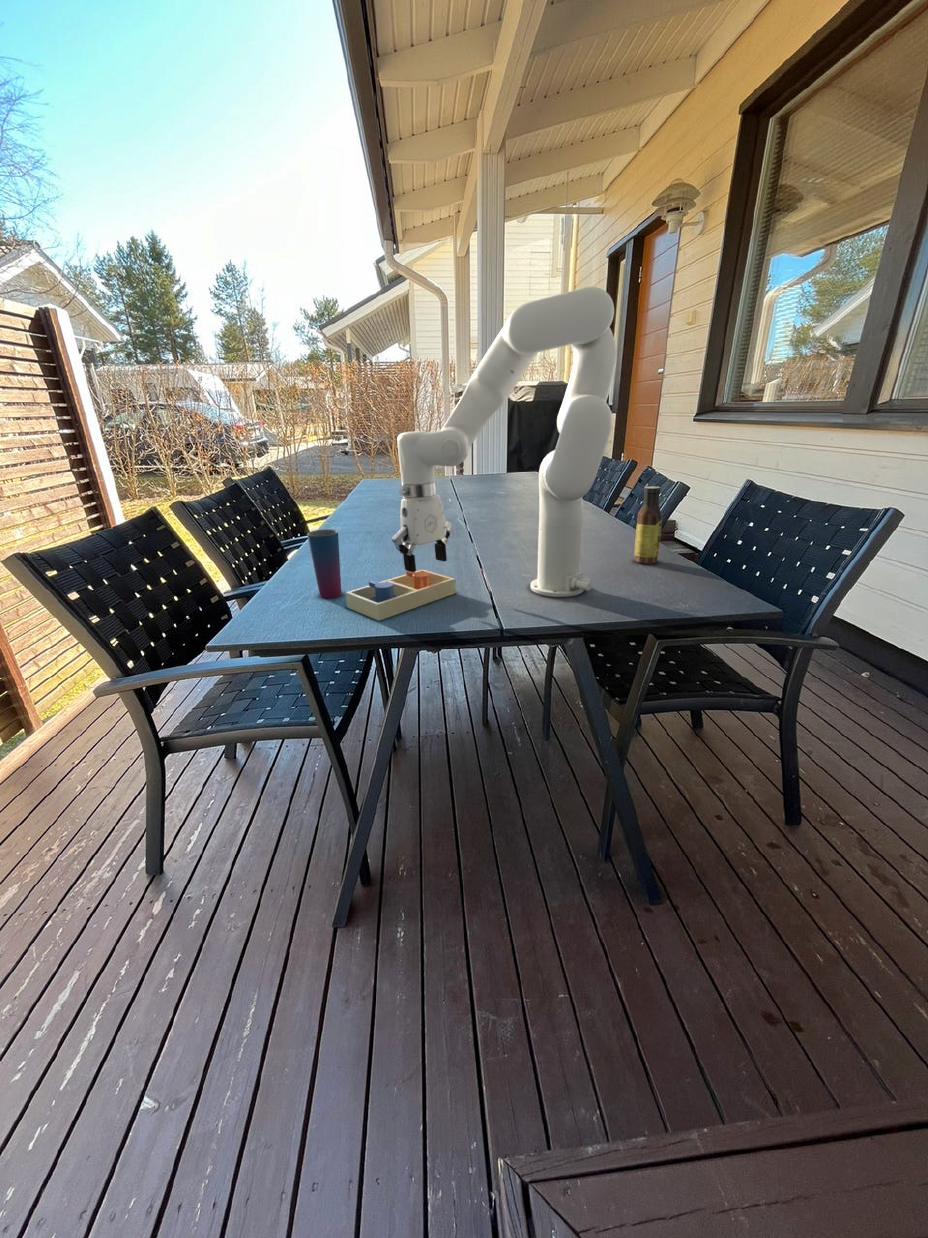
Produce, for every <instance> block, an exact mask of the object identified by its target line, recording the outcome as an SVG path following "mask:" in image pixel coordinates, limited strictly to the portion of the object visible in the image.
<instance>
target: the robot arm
mask: <svg viewBox="0 0 928 1238" xmlns="http://www.w3.org/2000/svg"><path fill="white" fill-rule="evenodd" d="M614 315H615V306H614V301H613V299H612V297H611V295H610V294H609V292H607V290H605V289H603V288H600V287H597V286H586V287H582V288H578V289H573V290H571V291H567V292H564V293H560V294H556V295H552V296H548V297H544V298H540V299H535V300H532V301H528V302H524V303H521V304H520V305H519V306H516V307H515V308H514V309H513V310H512V312H511V313H510V315H509V317H508V318H507V320H506V321H505V323H504V324H503V326H502V328H501V330H500V331H499V333H498V334H497V336H496V337H495V339H494V341H493V342H492V344H491V345H490V346H489V348H488V350H487V351H486V353H485V355H484V356H483V358H482V359H481V361H480V363H479V364H478V366H476V369H475V370H474V371H473V373H472V375H471V376H470V378H469V380H468V383H467V385H466V387H465V390H464V392H463V393H462V395H461V397H460V399H459V401H458V402H457V404H456V406H455V408H454V409H453V411H452V412H451V413H450V415H449V417H448V418H447V420H446V422H445V423H444V425H443V426H442V428H441V429H440V430H437V431H431V432H429V431H425V430H418V431H416V430H415V431H404V432H401V433H400V434H399V435H398V436H397V439H396V443H397V453H398V454H397V455H398V463H399V472H400V480H401V482H400V483H401V488H400V489H399V491H398V492H399V495H400V496H402V499H401V501H400V529H399V530H398V531H397V532H396V534H394V535H393V536H392V537H391V541H392V543H393V544H394V546H395V548H396V549H397V551H398V552H400V554H401V555H402V558H403V567H404V570H405V571H406V572H407V571H410V572H415V571H417V566H416V556H415V554H413V553H414V550H415V548H416V546H423V545H426V544H430V543H433V542H436V543H434V554H435V560H436V561H440V562H447V561H448V556H447V545H448V542H449V541H448V539H449V538H450V536H451V531H452V526H453V524H452V522H451V521H448V520H446V517H445V511H444V507H443V506H444V505H443V502H442V499H441V496H440V494H438V492H437V491H438V490H437V480H436V479H437V478H436V466H439V467H456V466H459V465H461V464H463V463H464V461H465V460H466V459H467V457H468V454H469V450H470V448H471V446H472V445H473V443H474V442H475V440H476V439H477V437H478V436H479V434H480V433H481V431H482V430H483V428H484V427H485V425H487V423H488V421H489V420H490V419H491V417H492V416H493V415H494V414H495V413H496V412H497V411H498V410H500V408H502V407H503V405H505V403H506V401H507V400H508V398H509V397H510V396H511V394H512V393H513V391H514V389H515V388H516V386H517V385H518V383H519V382H520V381H521V379H522V377H523V376H524V375H525V373H526V372H527V370H528V369H529V367H530V366H531V364H532V362H533V361H534V360H535V359H536V357H537V356H538V353H540V352H544V351H549V350H553V349H559V348H563V347H566V346H570V347H571V350H572V353H573V363H572V368H571V372H570V376H569V381H568V384H567V387H566V390H565V393H564V397H563V399H562V403H561V404H560V405H561V406H560V408H559V411H558V414H557V418H556V427H557V432H558V433H559V435H558V439H557V442H556V445H555V448H554V450H552V451H550V452H549V453H547V454H546V456H545V457H544V458H543V459H542V461H541V463H540V465H539V470H538V496H539V497H538V498H539V503H538V505H539V508H538V509H539V510H538V511H539V514H538V539H537V540H538V542H537V544H538V545H537V578H535V579H533V580H532V581H531V582H530V590H531V591H532V592H533V593H535V594H537V595H540V596H544V597H551V598H568V597H575V596H578V595H580V594H582V593H584V592H589V591H591V589H592V584H593V580H592V579H588V578H584V571H582V570H580V560H581V559H580V556H581V544H582V543H581V541H582V524H583V509H584V508H583V507H584V505H583V503H584V502H583V501H584V499H583V497H584V496H585V495H586V494H587V493H589V491H590V490H591V488H592V486H593V484H594V482H595V480H596V477H597V475H598V472H599V468H600V466H601V463H602V460H603V457H604V455H605V451H606V448H607V445H608V442H609V440H610V437H611V432H612V427H613V414H612V410H611V408H610V406H609V404H608V403H607V401H608V397H609V394H610V390H611V388H612V384H613V380H614V376H615V372H616V367H617V359H618V353H617V351H618V350H617V345H616V340H615V337H614V334H613V331H612V329H611V327H610V326H611V325H612V322H613V320H614Z"/></svg>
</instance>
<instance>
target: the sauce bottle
mask: <svg viewBox="0 0 928 1238" xmlns="http://www.w3.org/2000/svg"><path fill="white" fill-rule="evenodd" d="M660 494H661V487H660V486H653V485H652V486H651V485H650V486H644V489H643V495H644V497H643V505H642V506H641V508H640V510H639V511H638V514H637V523H636V531H635V542H634V553H633V555H634V562H636V563H638V564H643V565H652V564H656V563H657V562H658V557H659V555H660V554H659V553H660V545H661V544H660V543H661V535H662V525H663V515H662V511H661V506H660Z"/></svg>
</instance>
